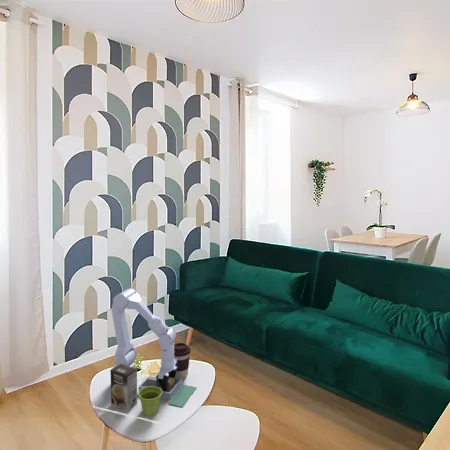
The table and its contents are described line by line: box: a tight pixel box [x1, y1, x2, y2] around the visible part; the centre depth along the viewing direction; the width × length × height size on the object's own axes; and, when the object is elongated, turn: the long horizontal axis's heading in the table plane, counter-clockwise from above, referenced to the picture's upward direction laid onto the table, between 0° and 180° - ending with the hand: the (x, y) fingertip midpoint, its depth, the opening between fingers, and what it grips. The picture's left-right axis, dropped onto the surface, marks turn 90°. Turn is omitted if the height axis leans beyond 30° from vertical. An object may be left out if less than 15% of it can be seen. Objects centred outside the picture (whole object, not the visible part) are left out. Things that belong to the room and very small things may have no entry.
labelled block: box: [165, 377, 175, 392], centre depth 165 cm, size 4×4×5 cm
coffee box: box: [109, 364, 138, 412], centre depth 154 cm, size 9×6×16 cm
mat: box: [168, 384, 197, 408], centre depth 162 cm, size 6×15×1 cm, turn 162°
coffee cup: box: [174, 342, 192, 379], centre depth 178 cm, size 10×10×15 cm
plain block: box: [146, 375, 160, 387], centre depth 167 cm, size 4×4×5 cm
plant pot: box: [137, 386, 162, 417], centre depth 151 cm, size 9×9×9 cm
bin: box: [138, 374, 183, 401], centre depth 167 cm, size 15×12×4 cm
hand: (167, 385), depth 165 cm, fingers open, 7 cm apart
